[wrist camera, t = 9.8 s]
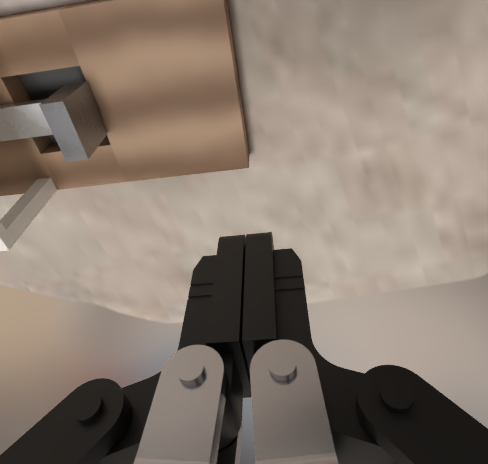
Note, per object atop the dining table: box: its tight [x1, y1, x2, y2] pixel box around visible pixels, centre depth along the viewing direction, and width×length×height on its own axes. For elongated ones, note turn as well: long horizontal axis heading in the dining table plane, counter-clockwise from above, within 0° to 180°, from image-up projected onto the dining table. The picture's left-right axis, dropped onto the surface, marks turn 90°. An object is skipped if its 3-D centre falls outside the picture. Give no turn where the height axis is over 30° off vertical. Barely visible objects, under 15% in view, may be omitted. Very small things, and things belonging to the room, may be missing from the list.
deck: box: [0, 0, 249, 196], centre depth 37 cm, size 16×40×3 cm, turn 98°
